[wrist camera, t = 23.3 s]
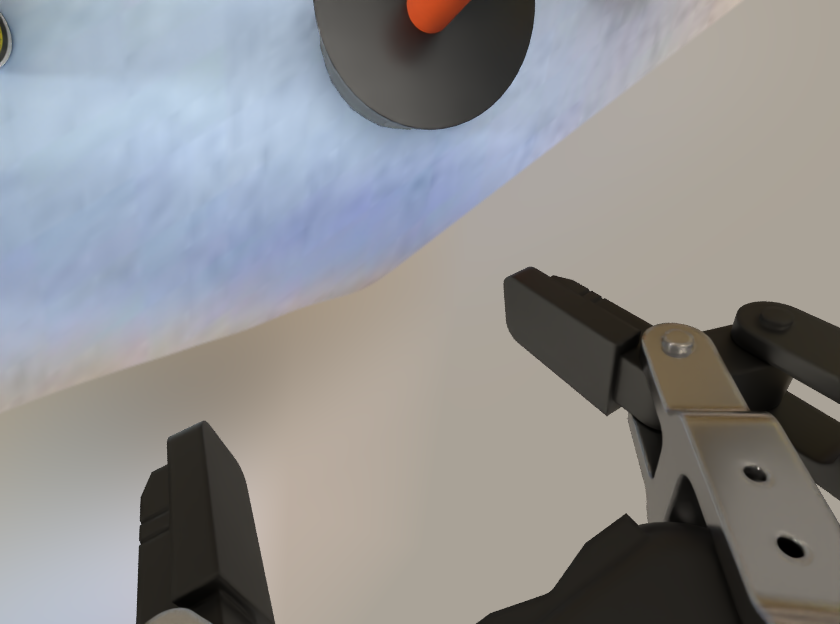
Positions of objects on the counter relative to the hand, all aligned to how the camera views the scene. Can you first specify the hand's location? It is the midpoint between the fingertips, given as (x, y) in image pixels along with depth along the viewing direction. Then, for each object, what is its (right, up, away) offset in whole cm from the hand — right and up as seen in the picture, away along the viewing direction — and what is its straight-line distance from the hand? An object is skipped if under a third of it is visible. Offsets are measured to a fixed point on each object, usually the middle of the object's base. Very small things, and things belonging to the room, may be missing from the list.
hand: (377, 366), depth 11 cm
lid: (+1, +18, +13) cm, 22 cm away
